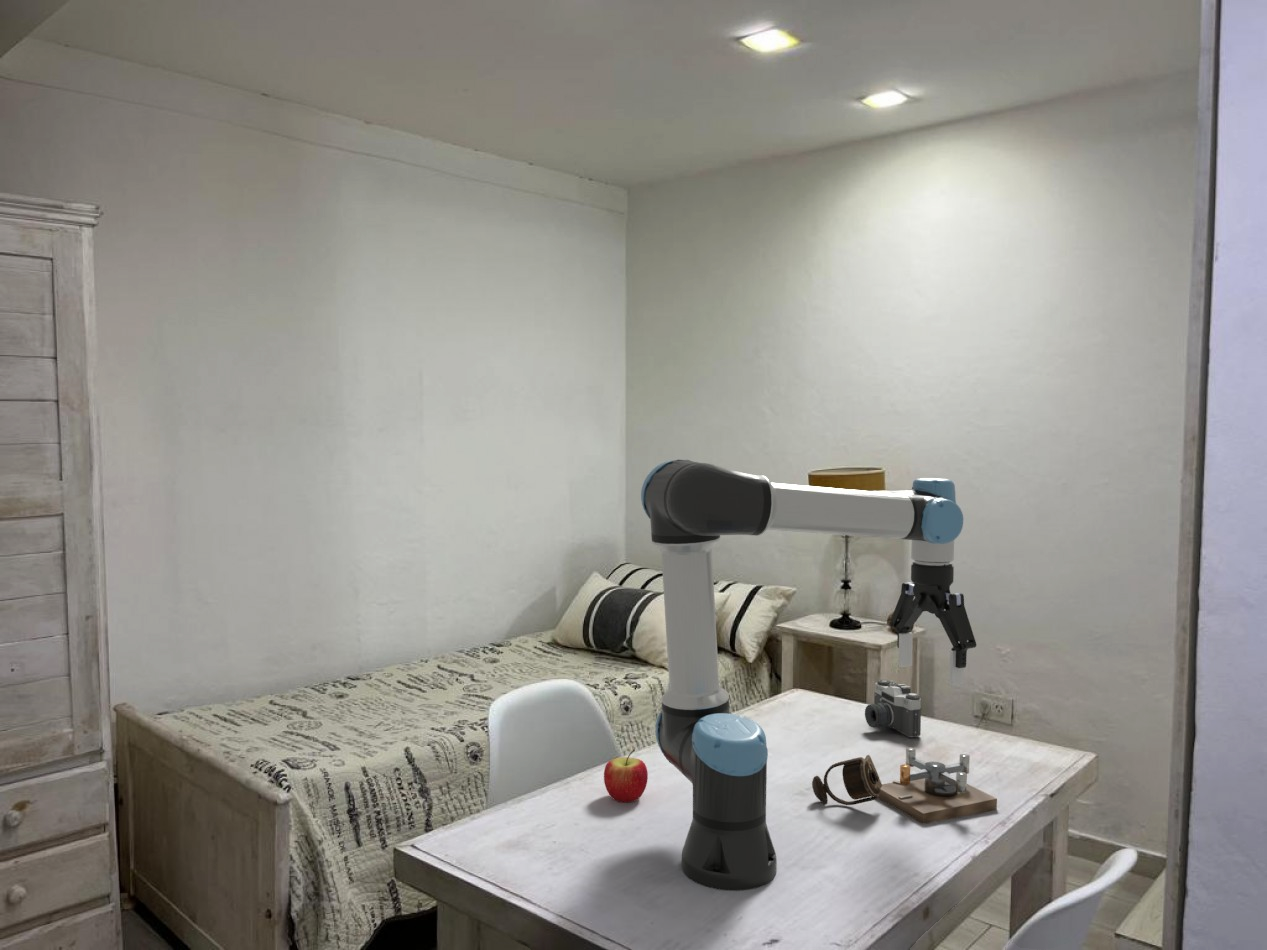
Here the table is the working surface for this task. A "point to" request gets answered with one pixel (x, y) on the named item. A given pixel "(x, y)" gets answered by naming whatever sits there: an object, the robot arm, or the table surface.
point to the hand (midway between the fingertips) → (929, 675)
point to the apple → (625, 778)
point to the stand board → (934, 801)
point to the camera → (895, 708)
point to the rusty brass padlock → (852, 781)
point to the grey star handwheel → (936, 774)
